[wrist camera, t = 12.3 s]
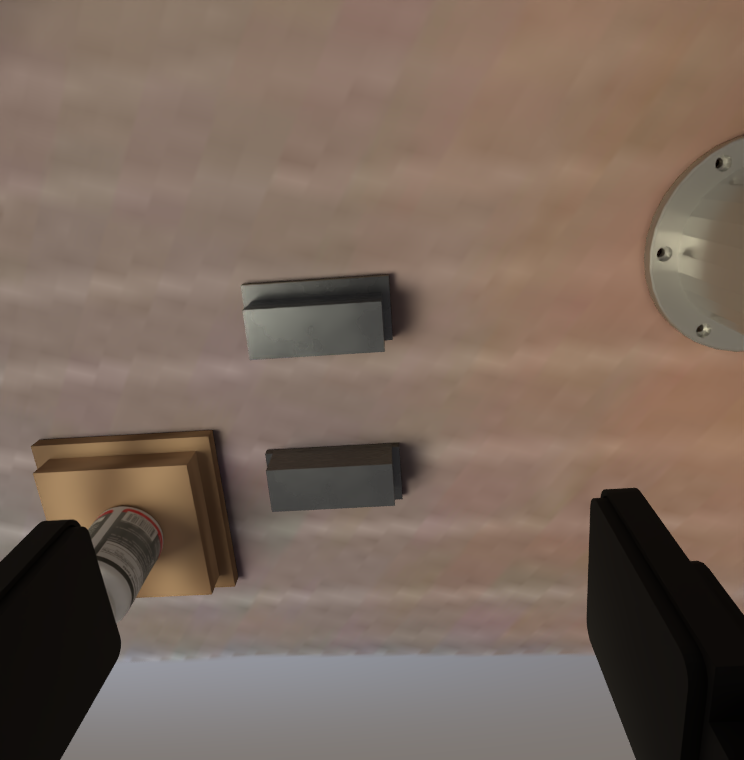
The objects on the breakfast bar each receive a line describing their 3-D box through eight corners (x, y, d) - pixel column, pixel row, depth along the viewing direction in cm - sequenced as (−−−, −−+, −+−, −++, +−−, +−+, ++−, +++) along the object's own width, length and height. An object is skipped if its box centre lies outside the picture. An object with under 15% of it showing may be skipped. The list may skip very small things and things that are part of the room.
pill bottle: (103, 566, 41) (37, 662, 33) (86, 506, 39) (12, 592, 32) (172, 562, 41) (121, 658, 33) (157, 501, 39) (100, 587, 31)
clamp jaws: (388, 274, 37) (389, 283, 34) (402, 494, 42) (403, 518, 39) (243, 283, 37) (231, 293, 34) (274, 501, 42) (266, 525, 40)
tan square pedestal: (212, 430, 41) (199, 450, 38) (238, 577, 45) (228, 605, 42) (39, 439, 41) (13, 460, 38) (80, 584, 45) (59, 612, 42)
